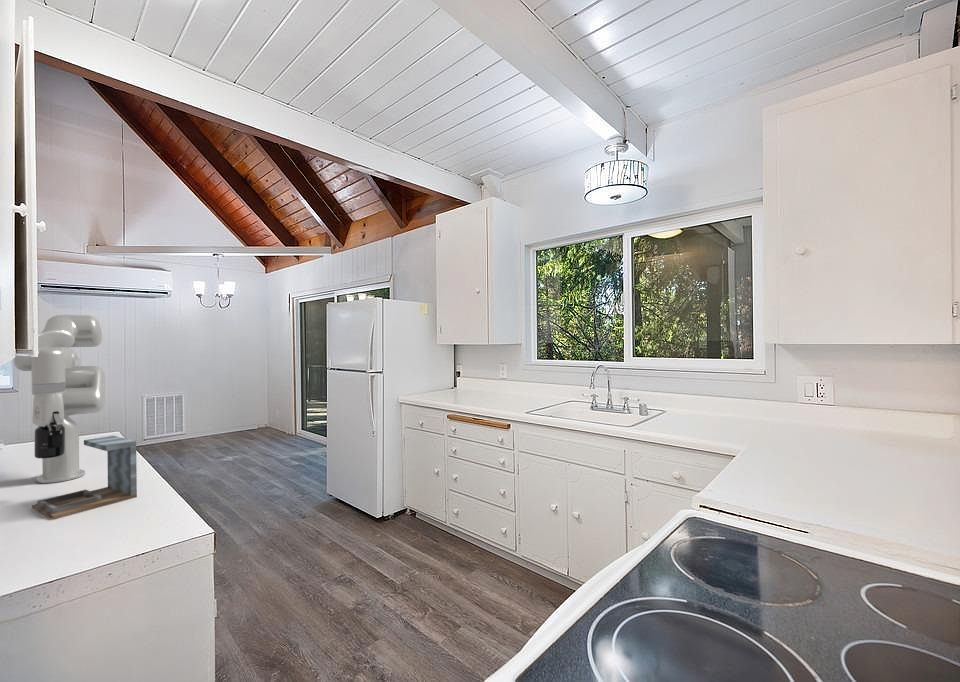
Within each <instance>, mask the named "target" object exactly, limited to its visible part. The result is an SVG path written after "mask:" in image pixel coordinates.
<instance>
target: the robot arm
mask: <svg viewBox="0 0 960 682" xmlns="http://www.w3.org/2000/svg"><path fill="white" fill-rule="evenodd" d="M37 334H38V351H39V354H38V357H31V356H16V357H15V358H14V357H13V363H14V366H15V368H16V369H18V370H19V371H23V372H31V395H33V402H32V403H33V405H32V424H33V425H35V426H38V427H39V426H41V427H46V425H47V428H48V433H49V435H48V436H47V446H48V448H49V449H50V448H56V447H61V446H62V425H63V426H64V427H65V453H64V454H63V455H61V456H57V457H52V458H41V459H42V461H41V463H42V475H39V476H38V477H36V480H35V481H36V483H38V484H51V483H59V482H65V481H71V480H75V479H78V478H81V477H83V476H84V475H86V470H85V469H80V427H79V425H78V423H77V422H76V421H75V420H73V419H72V417H70V416H74V415H85V414H95V413H99V412H100V411H102V410H103V408H104V406H105V395H106V394H105V391H106V389H105V388H106V375H105V371H104V370H103V368H101V367H100V366H97V365H81V360H80V358H79V356H78V355H77V352H75V350H73V349H72V348H93V347H98V346H99V345H101V343H102V340H103V332H102V328H101V325H100V322H99V321H98V319H97V318H96V317H95V316H92V315H84V314H58V315H54V316H51V317H50V318H49V319H47V321H46V323H45V326H44V328H43V330H42V331H41V332H39V333H37ZM52 423H55V424H53V425H50V424H52ZM38 427H37V428H38ZM52 427H53V429H52Z"/></svg>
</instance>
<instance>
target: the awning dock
mask: <svg viewBox="0 0 960 682" xmlns="http://www.w3.org/2000/svg"><path fill="white" fill-rule="evenodd" d="M83 446H86V447H89V448H94V449H97V450H100V451H104V452H107V453H106V454H107V486H106V487H101V488H97V489H93V490H89V489H88V490H87V489H83V490H78V491H73V492H69V493H66V494H61V495H57V496H53V497H48V498H44V499H41V500H37V502H36V504H32V505H31V509H32V510H34V511H35V512H38V513H40V514H42V515H43V516H45V517H47V516H48V517H47V518H49V517H50V518H49V519H51V518H52V519H51V520H57V519H61V518H64V517H67V516H71V515H75V514H79V513H83V512H86V511H90V510H94V509H97V508H102V507H106V506H108V505H112V504H117V503H120V502H124V501H128V500H131V499H134V498H137V497H138V494H137V493H138V484H137V481H138V480H137V476H138V475H137V474H138V473H137V471H138V470H137V440H133V439H129V438H125V437H121V436H117V435H108V436H101V437H96V438H95V437H94V438H89V439H84V440H83Z"/></svg>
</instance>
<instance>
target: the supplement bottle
mask: <svg viewBox="0 0 960 682" xmlns="http://www.w3.org/2000/svg"><path fill="white" fill-rule="evenodd" d="M53 424H55V423H52V424H50V425H53ZM52 429H53V427H52ZM48 435H49V433H48V428H47V425H46V427H41V426H39V427H36V428H35V430H34V457H35V458H36V459H42V458H52V457H57V456H61V455H63V454H64V453H65V427H64V426H63V425H62V446H61V447H56V448H50V449H49V448H48V446H47V436H48Z"/></svg>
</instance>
